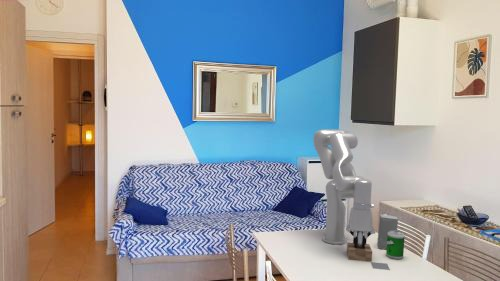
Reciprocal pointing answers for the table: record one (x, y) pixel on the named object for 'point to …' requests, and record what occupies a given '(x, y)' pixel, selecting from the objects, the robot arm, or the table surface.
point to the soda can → (395, 244)
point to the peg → (360, 239)
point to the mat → (380, 266)
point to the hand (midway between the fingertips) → (359, 245)
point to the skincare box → (385, 229)
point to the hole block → (359, 253)
